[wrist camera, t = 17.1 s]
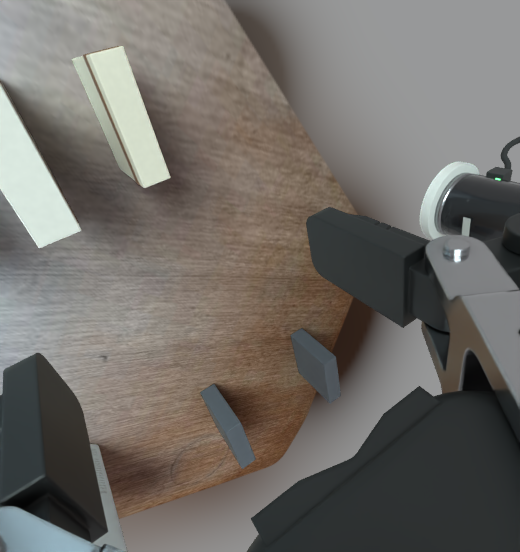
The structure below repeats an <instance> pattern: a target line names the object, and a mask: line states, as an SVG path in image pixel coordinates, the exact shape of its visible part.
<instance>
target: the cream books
mask: <svg viewBox="0 0 520 552" xmlns="http://www.w3.org/2000/svg"><path fill="white" fill-rule="evenodd" d="M72 61H73V64H74V66H75V68H76V70H77V73H78V75H79V77H80V79H81V82H82V84H83V86H84V89H85V91H86V93H87V95H88V98H89V100H90V102H91V105H92V107H93V109H94V111H95V114H96V116H97V118H98V120H99V123H100V125H101V127H102V130H103V132H104V134H105V136H106V139H107V141H108V143H109V146H110V148H111V150H112V152H113V155H114V157H115V159H116V161H117V164H118V166H119V168H120V170H122V171H123V172H124V173H126V174H127V175H128V176H129V177H131V178H132V179H133V180H135V181H136V183H137V184H138V185H139V186H140V185H141V186H142V187H143V188H147V187H149V186H152V185H154V184H157V183H159V182H162V181H164V180H167V179H169V178H171V177H170V174H169V171H168V169H167V166H166V163H165V160H164V158H163V155H162V152H161V149H160V147H159V144H158V141H157V138H156V135H155V133H154V130H153V127H152V124H151V122H150V119H149V116H148V113H147V111H146V108H145V105H144V102H143V100H142V97H141V94H140V91H139V89H138V86H137V83H136V80H135V77H134V75H133V72H132V69H131V66H130V64H129V61H128V58H127V55H126V53H125V50H124V47H123V46H120V47H119V46H116V47H112V48H108V49H104V50H100V51H97V52H93V53H89V54H85V55H83V56H82V57H78V58H74V59H72Z"/></svg>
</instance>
